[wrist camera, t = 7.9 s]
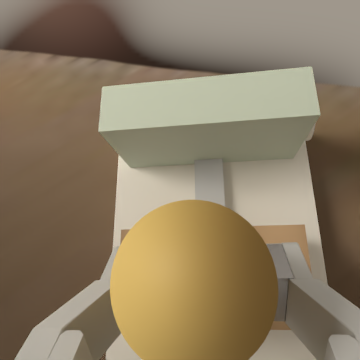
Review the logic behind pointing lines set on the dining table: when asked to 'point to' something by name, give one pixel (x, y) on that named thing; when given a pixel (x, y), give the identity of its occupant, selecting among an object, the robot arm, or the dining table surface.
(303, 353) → the track
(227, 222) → the carriage
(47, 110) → the dining table surface
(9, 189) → the dining table surface
